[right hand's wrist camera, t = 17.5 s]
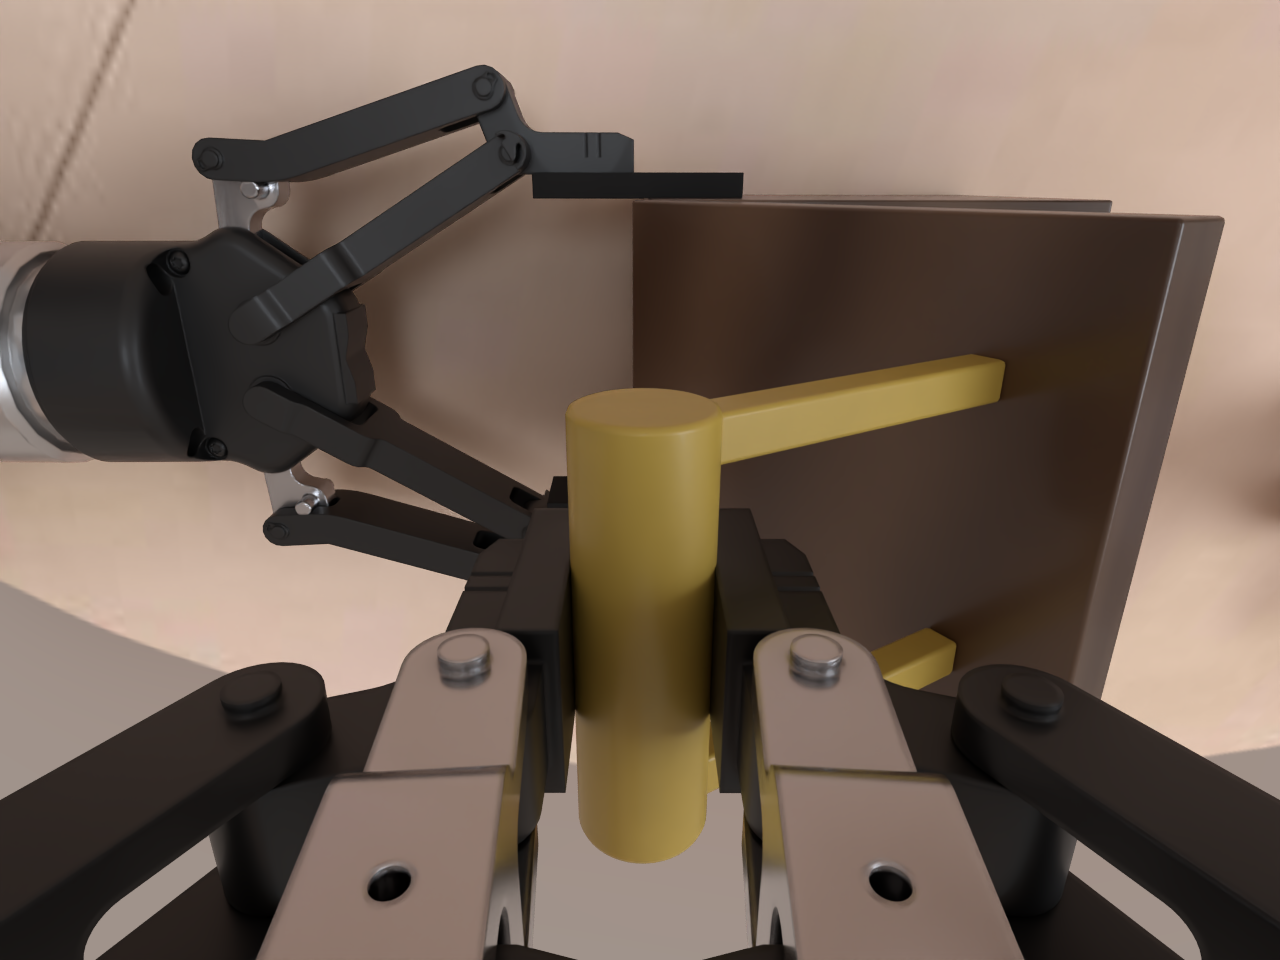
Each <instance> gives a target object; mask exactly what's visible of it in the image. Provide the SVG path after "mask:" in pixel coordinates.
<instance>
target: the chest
mask: <svg viewBox="0 0 1280 960" xmlns="http://www.w3.org/2000/svg"><path fill="white" fill-rule="evenodd" d="M644 200H695V201H729V202H763V203H797V204H831V205H865V206H899V207H933V208H967V209H1001V210H1035V211H1069V212H1103V213H1110V211H1111V206H1112V201H1111V200H1088V199H1058V198H1027V197H996V196H965V195H742V198H649V199H644Z"/></svg>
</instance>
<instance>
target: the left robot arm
mask: <svg viewBox="0 0 1280 960" xmlns="http://www.w3.org/2000/svg"><path fill="white" fill-rule="evenodd" d="M477 124H480V126H481V129H482V131H483V134H484V136H485V139H486V141H487V142H486V143H485V144H483V145H482V146H481V147H479V148H478V149H476V150H475V151H473V152H472V153H470V154H469V155H467V156H466V157H464V158H463V159H461V160H460V161H459V162H457V163H456V164H454V165H453V166H451V167H450V168H448V169H447V170H445V171H444V172H442V173H441V174H439V175H438V176H436V177H435V178H434V179H432V180H431V181H429V182H428V183H426V184H425V185H423V186H422V187H420V188H419V189H417V190H416V191H414V192H413V193H412V194H410V195H409V196H407V197H406V198H404V199H403V200H401V201H400V202H398V203H397V204H395V205H394V206H392V207H391V208H389V209H388V210H387V211H385V212H384V213H382V214H381V215H379V216H378V217H376V218H375V219H373V220H372V221H370V222H369V223H367V224H366V225H365V226H363V227H362V228H360V229H359V230H357V231H356V232H354V233H353V234H351V235H350V236H348V237H347V238H345V239H344V240H342V241H341V242H339V243H338V244H336V245H334V246H332V247H330V248H328V249H326V250H324V251H323V252H321V253H320V254H318V255H317V256H315V257H314V258H312V259H311V260H309V259H308V258H306V257H305V256H303V255H302V254H300V253H299V252H297V251H296V250H294V249H293V248H291V247H290V246H289V245H287V244H286V243H284V242H283V241H281V240H280V239H278V238H277V237H275V236H274V235H272V234H271V233H269V232H268V231H266V230H264V229H262V219H263V216H264V215H265V214H266V212H267V211H269V210H270V209H273V208H277V207H281V206H283V205H284V204H286V202H287V201H288V199H289V196H290V183H289V182H304V181H311V180H316V179H319V178H323V177H327V176H330V175H332V174H335V173H338V172H341V171H344V170H347V169H350V168H353V167H356V166H358V165H361V164H364V163H367V162H370V161H373V160H376V159H379V158H381V157H384V156H387V155H390V154H393V153H396V152H399V151H402V150H405V149H407V148H410V147H413V146H416V145H419V144H422V143H425V142H428V141H431V140H433V139H436V138H439V137H442V136H445V135H448V134H451V133H454V132H457V131H459V130H462V129H465V128H468V127H471V126H474V125H477ZM192 160H193V163H194V166H195V167H196V169H197V170H198V171H199V173H200V174H202V175H203V176H205V177H206V178H208V179H212V181H213V188H214V195H215V202H216V209H217V217H218V224H219V229H217V230H215V231H213V232H212V233H210V234H209V235H207V236H206V237H204V238H202V239H200V240H197V241H81V242H76V243H72V244H70V245H67V244H64V243H61V242H58V241H0V462H87V461H90V460H93V459H97V460H101V461H107V462H201V461H219V460H229V461H235V462H239V463H242V464H245V465H247V466H249V467H251V468H253V469H255V470H258V471H260V472H264V474H265V479H266V483H267V487H268V491H269V496H270V500H271V504H272V508H273V514H272V515H271V516H270V517H269V518H268V519H267V520H266V521H265V523H264V525H263V533H264V535H265V537H266V538H267V539H268V540H269V541H270V542H271V543H273V544H275V545H280V546H292V545H313V544H331V545H335V546H339V547H343V548H347V549H350V550H354V551H358V552H362V553H366V554H369V555H373V556H377V557H381V558H385V559H388V560H392V561H396V562H400V563H404V564H407V565H411V566H415V567H419V568H423V569H426V570H430V571H434V572H438V573H442V574H445V575H449V576H453V577H457V578H461V579H464V580H468V578H469V576H471V571H472V569H473V567H474V564H475V562H476V560H477V557H478V555H479V554H480V553H481V552H483V551H484V550H485V549H486V548H488V547H489V546H490V545H492V544H493V543H494V542H496V541H497V540H498V539H524V537H525V534H526V531H527V528H528V525H529V522H530V519H531V515H532V512H533V510H534V508H568V480H567V476H554V477H553V481H552V485H551V489H550V492H549V491H548V490H546V491H545V495H541V494H539V493H537V492H536V491H534V490H532V489H530V488H528V487H526V486H524V485H522V484H521V483H519V482H517V481H515V480H513V479H511V478H509V477H508V476H506V475H504V474H502V473H500V472H498V471H496V470H495V469H493V468H491V467H489V466H487V465H485V464H483V463H482V462H480V461H478V460H476V459H474V458H472V457H470V456H469V455H467V454H465V453H463V452H461V451H459V450H457V449H456V448H454V447H452V446H450V445H448V444H446V443H444V442H443V441H441V440H439V439H437V438H435V437H433V436H431V435H430V434H428V433H426V432H424V431H422V430H420V429H418V428H416V427H415V426H413V425H411V424H409V423H407V422H405V421H404V420H402V419H401V418H400V416H399V414H398V413H397V412H396V411H395V410H393V409H392V408H390V407H388V406H386V405H384V404H382V403H381V402H379V401H377V400H375V399H373V398H371V397H370V395H371V393H372V392H373V391H374V390H376V389H375V381H374V373H373V368H372V365H371V363H370V360H369V358H368V355H367V353H366V350H365V341H366V334H367V327H368V325H367V317H366V309H365V304H359V302H358V300H357V298H356V296H355V295H354V293H353V292H352V291H353V290H355V289H356V288H358V287H359V286H361V285H362V284H364V283H365V282H367V281H368V280H370V279H371V278H373V277H374V276H376V275H377V274H379V273H380V272H381V271H382V270H383V269H385V268H386V267H388V266H389V265H391V264H392V263H394V262H395V261H397V260H398V259H400V258H401V257H403V256H404V255H406V254H407V253H409V252H410V251H412V250H413V249H415V248H416V247H418V246H419V245H421V244H422V243H424V242H425V241H427V240H428V239H430V238H431V237H433V236H434V235H436V234H437V233H439V232H440V231H442V230H443V229H445V228H446V227H448V226H449V225H451V224H452V223H454V222H455V221H457V220H458V219H460V218H461V217H463V216H464V215H466V214H467V213H469V212H470V211H472V210H473V209H475V208H476V207H478V206H479V205H481V204H482V203H484V202H485V201H487V200H488V199H490V198H491V197H493V196H494V195H496V194H497V193H499V192H500V191H502V190H503V189H505V188H506V187H508V186H509V185H511V184H512V183H514V182H515V181H517V180H518V179H520V178H521V177H523V176H524V175H532V184H533V198H600V199H649V198H742V194H743V173H634V140H633V139H631V138H629V137H626V136H624V135H622V134H620V133H579V132H536V131H534V130H532V129H531V128H530V127H529V126H528V125H527V124H526V122H525V120H524V118H523V116H522V113H521V111H520V108H519V105H518V103H517V100H516V97H515V93H514V89H513V87H512V85H511V83H510V82H509V81H508V80H507V79H506V78H505V77H504V76H502V75H501V74H500V73H499V72H498V71H496V70H495V69H494V68H492V67H490V66H487V65H478V66H474V67H472V68H469V69H466V70H463V71H460V72H457V73H455V74H452V75H449V76H446V77H443V78H440V79H438V80H435V81H432V82H429V83H426V84H424V85H421V86H418V87H415V88H412V89H409V90H407V91H404V92H401V93H398V94H395V95H392V96H390V97H387V98H384V99H381V100H378V101H375V102H373V103H370V104H367V105H364V106H361V107H359V108H356V109H353V110H350V111H347V112H344V113H342V114H339V115H336V116H333V117H330V118H327V119H325V120H322V121H319V122H316V123H313V124H311V125H308V126H305V127H302V128H299V129H296V130H294V131H291V132H288V133H285V134H282V135H279V136H277V137H274V138H271V139H268V140H265V141H263V140H244V139H225V138H204V139H201V140H199V141H198V142H197V143H195V145H194V147H193V150H192ZM316 449H320V450H322V451H324V452H326V453H328V454H330V455H332V456H334V457H336V458H338V459H340V460H342V461H344V462H345V463H347V464H350V465H352V466H356V467H368V468H371V469H373V470H375V471H377V472H379V473H381V474H383V475H385V476H387V477H389V478H390V479H392V480H394V481H396V482H398V483H400V484H402V485H404V486H406V487H408V488H410V489H412V490H414V491H415V492H417V493H419V494H421V495H423V496H425V497H427V498H429V499H431V500H433V501H435V502H437V503H439V504H440V505H442V506H444V507H446V508H448V509H450V510H452V511H454V512H456V513H458V514H460V515H462V516H464V517H466V518H467V519H469V520H471V521H473V522H471V521H467V520H463V519H460V518H456V517H452V516H449V515H445V514H441V513H438V512H434V511H430V510H427V509H423V508H419V507H416V506H412V505H408V504H405V503H401V502H397V501H394V500H390V499H386V498H383V497H379V496H375V495H372V494H368V493H363V492H359V491H352V490H335V489H334V484H333V482H332V481H331V480H330V479H327V478H324V479H323V478H319V477H314V476H312V475H310V474H308V473H307V472H306V471H305V470H304V469H303V467H302V465H301V461H302V460H303V459H305V458H306V457H307V456H309V455H310V454H311V453H312V452H314V451H315V450H316ZM474 522H475V523H474Z"/></svg>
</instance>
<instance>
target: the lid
mask: <svg viewBox="0 0 1280 960" xmlns="http://www.w3.org/2000/svg"><path fill="white" fill-rule="evenodd" d="M1224 223H1225V222H1224V218H1222V217H1220V216H1205V215H1171V214H1137V213H1103V212H1069V211H1035V210H1001V209H967V208H933V207H899V206H865V205H831V204H797V203H763V202H729V201H695V200H635V201H633V388H629V389H617V390H609V391H603V392H598V393H594V394H591V395H588V396H584V397H582V398H579V399H577V400H575V401H574V402H572V403H571V404H570V405H569V406H568V409H567V411H566V414H565V422H566V451H567V480H568V510H569V539H570V567H571V596H572V625H573V654H574V682H575V715H576V744H577V773H578V803H579V819H580V824H581V826H582V829H583V831H584V833H585V834H586V836H587V837H588V839H589V840H590V841H591V842H592V844H593V845H594V846H595V847H597V848H598V849H599V850H600V851H602V852H603V853H605V854H607V855H609V856H611V857H613V858H615V859H618V860H621V861H625V862H630V863H655V862H660V861H664V860H667V859H670V858H673V857H675V856H677V855H679V854H680V853H682V852H684V851H685V850H686V849H688V848H689V847H690V846H691V845H692V844H693V843H694V842H695V841H696V839H697V838H698V836H699V835H700V833H701V831H702V829H703V827H704V824H705V820H706V807H707V794H708V793H710V792H712V791H714V790H716V789H718V788H719V783H718V775H717V767H716V760H715V752H714V744H713V736H712V729H711V722H710V688H711V663H712V638H713V613H714V588H715V567H716V564H717V546H718V522H719V508H750V509H751V512H752V515H753V518H754V521H755V524H756V527H757V530H758V533H759V536H760V539H786V540H787V541H788V542H790V543H791V544H792V545H794V546H795V547H796V548H798V549H799V550H800V551H802V552H803V553H804V554H806V557H807V559H808V561H809V563H810V566H811V568H812V570H813V575H814V576H815V577H816V579H817V582H818V584H819V586H820V591H822V593H823V595H824V597H825V600H826V602H827V604H828V606H829V609H830V611H831V613H832V616H833V618H834V620H835V622H836V625H837V627H838V629H839V631H840V634H841V635H844V636H847V637H849V638H851V639H853V640H855V641H857V642H858V643H860V644H861V645H863V646H864V647H865V648H866V649H868V650H869V651H870V652H871V653H872V655H873V656H874V657H875V659H876V661H877V663H878V665H879V668H880V671H881V673H882V676H883V679H885V680H887V681H890V682H892V683H895V684H898V685H901V686H904V687H908V688H913V689H917V690H922V691H927V692H932V693H937V694H942V695H947V696H952V697H956V696H957V691H958V685H959V682H960V680H961V678H962V676H964V675H965V674H966V673H967V672H968V671H970V670H972V669H974V668H977V667H980V666H985V665H991V664H1010V665H1018V666H1025V667H1029V668H1033V669H1037V670H1041V671H1044V672H1047V673H1050V674H1052V675H1055V676H1057V677H1060V678H1062V679H1064V680H1066V681H1068V682H1070V683H1071V684H1073V685H1075V686H1077V687H1079V688H1080V689H1082V690H1084V691H1086V692H1088V693H1089V694H1091V695H1093V696H1095V697H1096V698H1098V699H1100V700H1101V696H1102V692H1103V688H1104V685H1105V681H1106V677H1107V673H1108V669H1109V665H1110V661H1111V658H1112V654H1113V650H1114V646H1115V642H1116V638H1117V635H1118V631H1119V627H1120V623H1121V619H1122V615H1123V612H1124V608H1125V604H1126V600H1127V596H1128V592H1129V588H1130V585H1131V581H1132V577H1133V573H1134V569H1135V565H1136V562H1137V558H1138V554H1139V550H1140V546H1141V542H1142V539H1143V535H1144V531H1145V527H1146V523H1147V519H1148V515H1149V512H1150V508H1151V504H1152V500H1153V496H1154V492H1155V489H1156V485H1157V481H1158V477H1159V473H1160V469H1161V465H1162V462H1163V458H1164V454H1165V450H1166V446H1167V442H1168V439H1169V435H1170V431H1171V427H1172V423H1173V419H1174V416H1175V412H1176V408H1177V404H1178V400H1179V396H1180V392H1181V389H1182V385H1183V381H1184V377H1185V373H1186V369H1187V366H1188V362H1189V358H1190V354H1191V350H1192V346H1193V343H1194V339H1195V335H1196V331H1197V327H1198V323H1199V319H1200V316H1201V312H1202V308H1203V304H1204V300H1205V296H1206V293H1207V289H1208V285H1209V281H1210V277H1211V273H1212V269H1213V266H1214V262H1215V258H1216V254H1217V250H1218V246H1219V243H1220V239H1221V235H1222V231H1223V227H1224Z"/></svg>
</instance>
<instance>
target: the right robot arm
mask: <svg viewBox="0 0 1280 960" xmlns="http://www.w3.org/2000/svg"><path fill="white" fill-rule="evenodd" d="M574 717H575V682H574V654H573V625H572V596H571V567H570V539H569V510H568V508H534V510H533V512H532V515H531V519H530V522H529V525H528V528H527V531H526V534H525V537H524V539H498V540H497V541H496V542H494V543H493V544H492V545H490V546H489V547H488V548H486V549H485V550H484V551H483V552H481V553H480V554H479V555H478V557H477V560H476V562H475V564H474V567H473V569H472V571H471V576H469V578H468V581H467V583H466V585H465V591H463V592H462V595H461V597H460V599H459V602H458V604H457V606H456V609H455V611H454V613H453V616H452V618H451V620H450V623H449V625H448V627H447V630H446V632H445V633H441V634H439V635H436V636H433V637H431V638H429V639H427V640H425V641H423V642H422V643H420V644H419V645H417V646H416V647H415V648H414V649H412V650H411V651H410V652H409V654H408V655H407V656H406V657H405V659H404V661H403V663H402V665H401V668H400V671H399V674H398V676H397V679H396V682H393V683H390V684H387V685H384V686H381V687H376V688H372V689H368V690H363V691H358V692H353V693H348V694H343V695H338V696H333V697H328V698H327V695H326V689H325V684H324V680H323V678H322V676H321V675H320V674H319V673H318V672H317V671H316V670H314V669H312V668H311V667H308V666H305V665H302V664H297V663H286V662H278V663H267V664H260V665H255V666H251V667H247V668H243V669H240V670H237V671H234V672H232V673H229V674H227V675H224V676H222V677H220V678H218V679H216V680H214V681H212V682H210V683H209V684H207V685H205V686H203V687H201V688H200V689H198V690H196V691H194V692H192V693H191V694H189V695H187V696H185V697H184V698H182V699H180V700H178V701H176V702H175V703H173V704H171V705H169V706H168V707H166V708H164V709H162V710H160V711H159V712H157V713H155V714H153V715H151V716H150V717H148V718H146V719H144V720H142V721H141V722H139V723H137V724H135V725H134V726H132V727H130V728H128V729H126V730H125V731H123V732H121V733H119V734H118V735H116V736H114V737H112V738H110V739H109V740H107V741H105V742H103V743H101V744H100V745H98V746H96V747H94V748H92V749H91V750H89V751H87V752H85V753H84V754H82V755H80V756H78V757H76V758H75V759H73V760H71V761H69V762H67V763H66V764H64V765H62V766H60V767H58V768H57V769H55V770H53V771H51V772H50V773H48V774H46V775H44V776H42V777H41V778H39V779H37V780H35V781H33V782H32V783H30V784H28V785H26V786H25V787H23V788H21V789H19V790H17V791H16V792H14V793H12V794H10V795H8V796H7V797H5V798H3V799H1V800H0V960H84V950H85V946H86V943H87V940H88V938H89V936H90V934H91V932H92V930H93V928H94V927H95V926H96V924H97V923H98V921H99V920H100V919H101V918H102V916H103V915H104V914H105V913H106V912H107V911H108V910H109V909H110V908H111V907H112V906H113V905H114V904H115V903H117V902H118V901H119V900H120V899H122V898H123V897H125V896H126V895H127V894H129V893H130V892H131V891H133V890H134V889H136V888H137V887H138V886H140V885H141V884H142V883H144V882H145V881H147V880H148V879H149V878H151V877H152V876H153V875H155V874H156V873H157V872H159V871H160V870H162V869H163V868H164V867H166V866H167V865H169V864H170V863H171V862H173V861H174V860H175V859H177V858H178V857H179V856H181V855H182V854H184V853H185V852H186V851H188V850H189V849H190V848H192V847H193V846H195V845H196V844H197V843H199V842H200V841H201V840H203V839H204V838H206V837H207V836H208V835H209V838H210V841H211V845H212V849H213V853H214V857H215V860H216V864H217V867H215V868H214V869H213V870H211V871H210V872H209V873H207V874H206V875H205V876H204V877H202V878H201V879H200V880H198V881H197V882H196V883H195V884H193V885H192V886H191V887H189V888H188V889H187V890H185V891H184V892H183V893H182V894H180V895H179V896H178V897H176V898H175V899H174V900H172V901H171V902H170V903H169V904H167V905H166V906H165V907H163V908H162V909H161V910H160V911H158V912H157V913H156V914H154V915H153V916H152V917H150V918H149V919H148V920H147V921H145V922H144V923H143V924H141V925H140V926H139V927H137V928H136V929H135V930H134V931H132V932H131V933H130V934H128V935H127V936H126V937H125V938H123V939H122V940H121V941H119V942H118V943H117V944H115V945H114V946H113V947H112V948H110V949H109V950H108V951H106V952H105V953H104V954H102V955H101V956H100V957H99V958H97V959H96V960H576V959H572V958H568V957H564V956H560V955H556V954H552V953H549V952H545V951H541V950H537V949H533V948H532V946H533V928H534V911H535V893H536V876H537V858H538V831H537V823H538V821H539V819H540V815H541V811H542V804H543V798H544V793H565V792H566V783H567V775H568V767H569V759H570V750H571V742H572V734H573V726H574ZM710 721H711V729H712V736H713V744H714V752H715V760H716V767H717V775H718V783H719V791H720V793H741V795H742V801H743V807H744V815H743V831H742V857H743V875H744V892H745V910H746V927H747V945H748V948H747V949H743V950H739V951H735V952H731V953H728V954H724V955H720V956H716V957H712V958H708V959H704V960H1184V959H1183V958H1181V957H1180V956H1179V955H1177V954H1176V953H1175V952H1174V951H1172V950H1171V949H1170V948H1169V947H1167V946H1166V945H1165V944H1163V943H1162V942H1161V941H1159V940H1158V939H1157V938H1156V937H1154V936H1153V935H1152V934H1150V933H1149V932H1148V931H1146V930H1145V929H1144V928H1143V927H1141V926H1140V925H1139V924H1137V923H1136V922H1135V921H1133V920H1132V919H1131V918H1130V917H1128V916H1127V915H1126V914H1124V913H1123V912H1122V911H1120V910H1119V909H1118V908H1117V907H1115V906H1114V905H1113V904H1111V903H1110V902H1109V901H1108V900H1106V899H1105V898H1104V897H1102V896H1101V895H1100V894H1098V893H1097V892H1096V891H1095V890H1093V889H1092V888H1091V887H1089V886H1088V885H1087V884H1085V883H1084V882H1083V881H1082V880H1080V879H1079V878H1078V877H1076V876H1075V875H1074V874H1072V873H1071V872H1070V871H1069V868H1070V864H1071V860H1072V856H1073V853H1074V849H1075V845H1076V841H1077V840H1079V841H1080V842H1081V843H1083V844H1084V845H1085V846H1087V847H1088V848H1090V849H1091V850H1092V851H1094V852H1095V853H1096V854H1098V855H1099V856H1101V857H1102V858H1103V859H1105V860H1106V861H1107V862H1109V863H1110V864H1111V865H1113V866H1114V867H1116V868H1117V869H1118V870H1120V871H1121V872H1122V873H1124V874H1125V875H1127V876H1128V877H1129V878H1131V879H1132V880H1134V881H1135V882H1136V883H1138V884H1139V885H1140V886H1142V887H1143V888H1144V889H1146V890H1147V891H1149V892H1150V893H1151V894H1153V895H1154V896H1155V897H1157V898H1158V899H1160V900H1161V901H1162V902H1164V903H1165V904H1166V905H1167V906H1169V907H1170V908H1171V909H1172V910H1173V911H1174V912H1175V913H1176V914H1177V915H1178V916H1179V917H1180V918H1181V919H1182V920H1183V921H1184V923H1185V924H1186V925H1187V926H1188V928H1189V929H1190V931H1191V932H1192V934H1193V936H1194V938H1195V939H1196V941H1197V944H1198V947H1199V949H1200V953H1201V958H1202V960H1280V800H1279V799H1277V798H1275V797H1273V796H1272V795H1270V794H1268V793H1266V792H1264V791H1263V790H1261V789H1259V788H1257V787H1255V786H1254V785H1252V784H1250V783H1248V782H1247V781H1245V780H1243V779H1241V778H1239V777H1238V776H1236V775H1234V774H1232V773H1230V772H1229V771H1227V770H1225V769H1223V768H1221V767H1220V766H1218V765H1216V764H1214V763H1213V762H1211V761H1209V760H1207V759H1205V758H1204V757H1202V756H1200V755H1198V754H1197V753H1195V752H1193V751H1191V750H1189V749H1188V748H1186V747H1184V746H1182V745H1180V744H1179V743H1177V742H1175V741H1173V740H1172V739H1170V738H1168V737H1166V736H1164V735H1163V734H1161V733H1159V732H1157V731H1155V730H1154V729H1152V728H1150V727H1148V726H1146V725H1145V724H1143V723H1141V722H1139V721H1138V720H1136V719H1134V718H1132V717H1130V716H1129V715H1127V714H1125V713H1123V712H1121V711H1120V710H1118V709H1116V708H1114V707H1113V706H1111V705H1109V704H1107V703H1105V702H1104V701H1102V700H1100V699H1098V698H1096V697H1095V696H1093V695H1091V694H1089V693H1088V692H1086V691H1084V690H1082V689H1080V688H1079V687H1077V686H1075V685H1073V684H1071V683H1070V682H1068V681H1066V680H1064V679H1062V678H1060V677H1057V676H1055V675H1052V674H1050V673H1047V672H1044V671H1041V670H1037V669H1033V668H1029V667H1025V666H1018V665H1010V664H991V665H985V666H980V667H977V668H974V669H972V670H970V671H968V672H967V673H966V674H965V675H964V676H962V678H961V680H960V682H959V685H958V691H957V696H956V697H952V696H947V695H942V694H937V693H932V692H927V691H922V690H917V689H913V688H908V687H904V686H901V685H898V684H895V683H892V682H890V681H887V680H885V679H883V676H882V673H881V671H880V668H879V665H878V663H877V661H876V659H875V657H874V656H873V655H872V653H871V652H870V651H869V650H868V649H866V648H865V647H864V646H863V645H861V644H860V643H858V642H857V641H855V640H853V639H851V638H849V637H847V636H844V635H841V634H840V631H839V629H838V627H837V625H836V622H835V620H834V618H833V616H832V613H831V611H830V609H829V606H828V604H827V602H826V600H825V597H824V595H823V593H822V591H820V586H819V584H818V582H817V579H816V577H815V576H814V575H813V570H812V568H811V566H810V563H809V561H808V559H807V557H806V554H804V553H803V552H802V551H800V550H799V549H798V548H796V547H795V546H794V545H792V544H791V543H790V542H788V541H787V540H786V539H760V536H759V533H758V530H757V527H756V524H755V521H754V518H753V515H752V512H751V509H750V508H719V522H718V546H717V564H716V567H715V588H714V613H713V638H712V663H711V688H710Z"/></svg>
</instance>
